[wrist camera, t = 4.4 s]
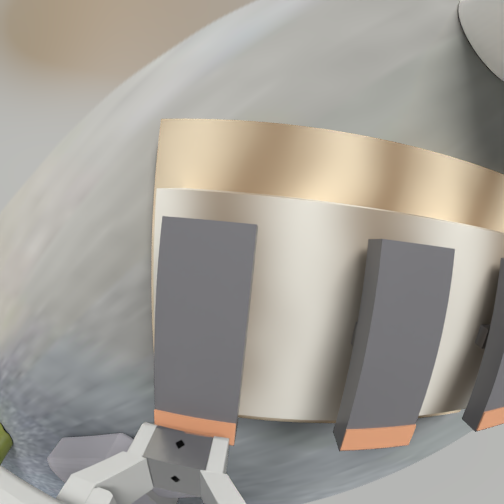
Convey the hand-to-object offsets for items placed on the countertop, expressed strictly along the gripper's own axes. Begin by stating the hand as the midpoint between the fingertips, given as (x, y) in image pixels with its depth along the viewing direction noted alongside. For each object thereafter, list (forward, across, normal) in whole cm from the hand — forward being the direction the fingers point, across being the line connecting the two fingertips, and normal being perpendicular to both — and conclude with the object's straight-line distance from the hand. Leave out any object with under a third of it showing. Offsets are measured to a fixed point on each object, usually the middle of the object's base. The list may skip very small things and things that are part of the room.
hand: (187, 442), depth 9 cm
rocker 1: (+3, 0, -3) cm, 4 cm away
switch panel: (+9, -7, -3) cm, 12 cm away
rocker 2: (+3, -7, -3) cm, 8 cm away
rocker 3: (+3, -14, -3) cm, 15 cm away
